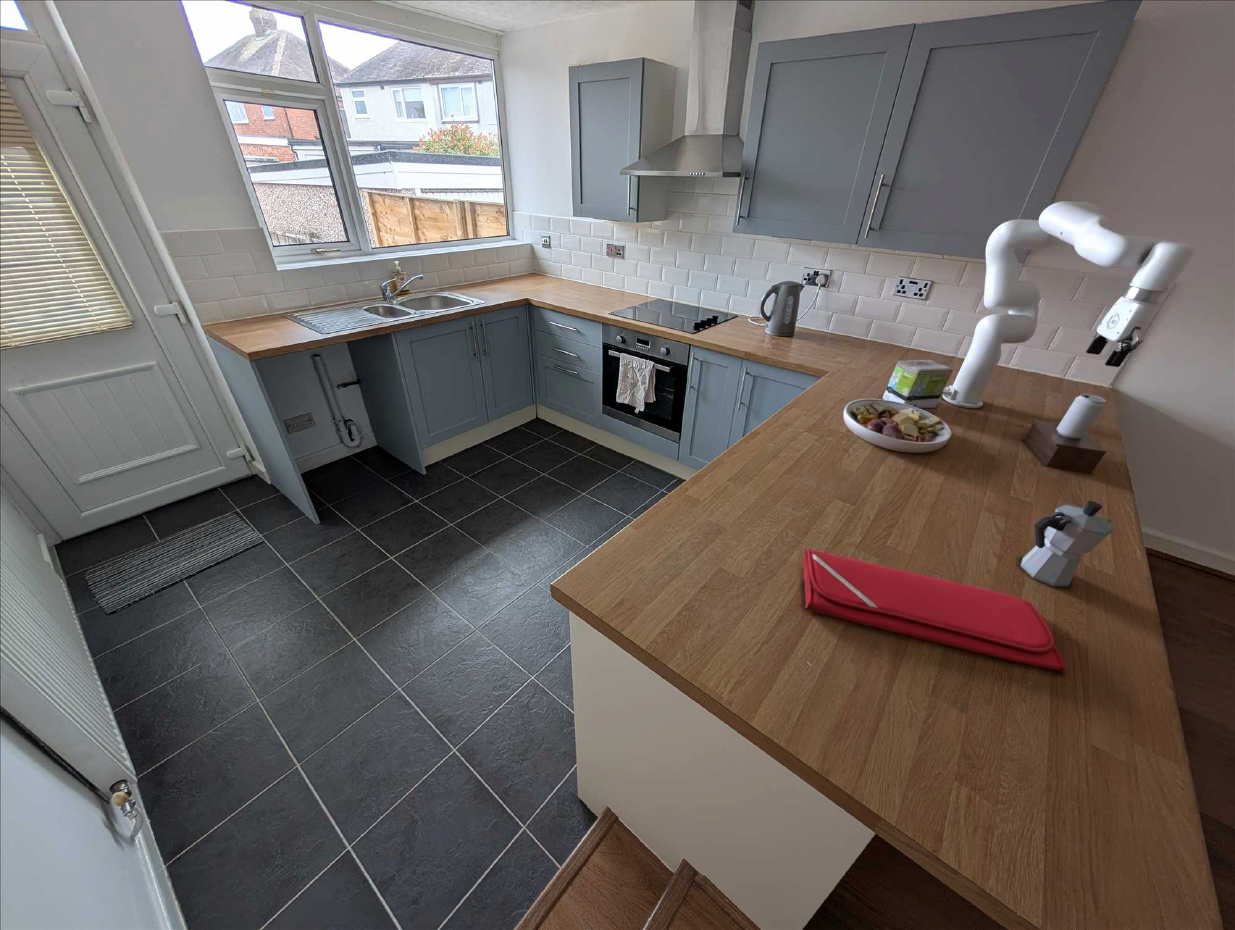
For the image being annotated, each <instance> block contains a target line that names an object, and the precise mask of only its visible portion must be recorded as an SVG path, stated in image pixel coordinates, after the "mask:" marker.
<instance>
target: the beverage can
mask: <svg viewBox="0 0 1235 930" xmlns="http://www.w3.org/2000/svg"><path fill="white" fill-rule="evenodd" d="M1106 402H1107V400H1106V399H1105V398H1103V397H1101V396H1099V395H1095V394H1090V393H1086V392H1085V393H1082V392H1081V393H1079V395H1078V396H1076V397H1075V398H1074V400H1073V402H1072V403H1071V405H1070V406H1069V408H1068V410H1067V411H1066V412H1065V415H1064V416H1063V417H1062V419H1061V421H1060V424H1059V426H1058V427H1057V431H1058V433H1059V434H1061V435H1063V436H1066V437H1069V438H1073V439H1079V438H1083V437H1084V436H1085V435H1086V434H1087V433H1088V432H1089V430H1090V428H1091V427H1092V426H1093V425H1094V423H1095V421H1096V420H1097V418H1098V417H1099V415H1100V414H1101V412H1102V411H1103V409H1104V408H1105V406H1106Z"/></svg>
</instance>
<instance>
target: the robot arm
mask: <svg viewBox="0 0 1235 930" xmlns="http://www.w3.org/2000/svg"><path fill="white" fill-rule="evenodd" d="M1109 224H1110V221H1109V218H1108V217H1107V216H1106V215H1104V214H1102V213H1100V210H1099V208H1098V206H1097V205H1096V204H1094V203H1092V202H1087V201H1073V200H1072V201H1070V200H1063V201H1057V202H1054V203H1052V204H1050V205H1048V206H1047V207H1046V208H1045V209H1043V210H1042V212H1041V213H1040V215H1039V216H1038V219H1026V218H1022V219H1021V218H1020V219H1011V220H1008V221H1005V222H1003V223H1001V224H1000V225H998V226H996V228H995V229H994V230H993V231H992V233H991V234H990V235H989V238H988V239H987V242H986V244H985V245H986V246H985V264H986V265H985V268H986V269H985V278H984V279H985V280H984V289H983V305H984V307H985V308H986V309H987V310H991V311H1008V313H994V314H990V315H986V316H984V317H983V318H981V319H980V320H979V321H978V323H977V324H976V327H975V329H974V334H973V338H972V341H971V344H970V347H969V348H968V351H967V353H966V355H965V358H964V361H963V362H962V364H961V367H960V370H959V371H958V373H957V375H956V377H955V380H954V381H953V383H952V384H949V385H948V386H945V388H944V390H943V392H942V394H941V395H942V399H943V400H945V401H946V402H947V403H949V404H952V405H954V406H957V407H962V408H964V409H965V408H967V409H979V408H982V407H983V405H984V402H983V401H982V399H981V398H982V396H983V394H984V392H985V390H986V388H987V386H988V384H989V382H990V380H991V378H992V376H993V374H994V372H995V370H996V368H997V366H998V364H999V362H1000V360H1001V357H1002V344H1022V343H1025V342H1027V341H1029V340H1031V338H1033V336H1034V335H1035V333H1036V330H1037V326H1038V318H1039V310H1040V301H1041V300H1040V297H1041V295H1040V294H1041V293H1040V289H1039V287H1038V285H1037V284H1036V283H1035V282H1032V281H1030V280H1020V279H1019V269H1020V266H1019V265H1020V264H1019V260H1018V257H1017V255H1016V254H1015V250H1033V251H1038V250H1039V251H1040V250H1044V249H1047V248H1050V247H1052V246H1055V245H1058V244H1060V243H1061V244H1062V243H1063V242H1065V243H1067V244H1069V245H1071V246H1073V248H1074V250H1075V252H1076V253H1077V255H1079V256H1080V257H1081V258H1083V259H1085V260H1087V261H1089V262H1091V263H1093V264H1095V265H1098V266H1100V267H1104V268H1108V269H1133V270H1137V272H1136V273H1135V275H1134V276H1133V278H1132V279H1131V281H1130V283H1129V284H1128V285H1127V288H1126V289H1125V291H1124V293H1123V294H1122V296H1120V298H1118V300H1117V301H1116V302H1115V303H1114V304H1113V305H1112V307H1111V308H1110V309H1109V310H1108V312H1107V313H1106V315H1105V316H1104V317H1103V319H1101V320H1100V321H1099V325H1098V326H1097V328H1096V333H1095V334H1094V336H1093V339H1092V341H1091V343H1090V344H1089V346H1088V348H1086V351H1085V353H1086V354H1089V355H1096V356H1097V355H1098V356H1099V355H1100V354H1101V353H1102V352H1103V350H1104V349H1105V347H1106V345H1107V344H1108V342H1109V341H1111V342H1112V343H1113V342H1114V343H1115V342H1116V348H1115V350H1112V352H1111V354H1110V355H1109V356H1108V358H1107V360H1106V361H1105V363H1104V365H1105V366H1107V367H1114V368H1120V367H1121V365H1122V364H1123V363H1124V361H1125V360H1126V358H1127V357H1128V355H1129V354H1131V353H1133V351H1134V350H1136V349H1137V348H1138V347H1139V346H1140V345H1141V344H1142V343H1143V342H1144V337H1143V334H1144V332H1145V331H1146V329H1147V328H1148V326H1149V325H1150V323H1151V322H1152V319H1153V318H1154V316H1155V313H1156V312H1157V309H1158V307H1159V306H1160V305H1161V304H1162V303H1163V301H1164V299H1165V298H1166V296H1167V295H1168V294H1169V292H1170V291H1171V289H1172V288H1173V286H1174V285H1175V284H1176V282H1177V280H1178V279H1179V277H1180V276H1181V274H1182V273H1183V272H1184V270H1185V269H1186V267H1187V266H1188V264H1189V263H1190V261H1191V260H1192V259H1193V257H1194V256H1195V254H1196V252H1197V247H1196V246H1195V245H1193V244H1190V243H1185V242H1178V241H1169V240H1166V239H1163V238H1160V237H1156V236H1144V235H1143V236H1141V235H1123V234H1121V233H1118V232H1114V231H1112V230H1111V229H1108V228H1109Z"/></svg>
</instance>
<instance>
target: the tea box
mask: <svg viewBox="0 0 1235 930" xmlns="http://www.w3.org/2000/svg"><path fill="white" fill-rule="evenodd" d="M953 371H954V369H953V368H951V367H949V366H947V365H945V364H942V363H940V362H938V361H936V360H933V359H912V360H911V359H909V360H898V361H897V362H896V365H895V367H894V369H893V372H892V374H891V377H890V379H889V380H888V384H887V385H886V389H885V391H884V393H883V396H882V400H889V401H895V402H899V403H904V404H907V405H911V406H914V407H917V408H919V409H929V408H931V409H932V408H936V407H937V404H938V403H939V401H940V398H941V396H942V395H943V394H942V392H943V390H944V388H946V387H947V384H948V382H949V379H950V378H951V376H952V373H953Z"/></svg>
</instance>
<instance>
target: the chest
mask: <svg viewBox="0 0 1235 930" xmlns="http://www.w3.org/2000/svg"><path fill="white" fill-rule="evenodd" d="M1022 441H1023V442H1024V443H1025V444H1026V445H1027V447H1028V448H1029V449H1030V450H1031V451H1032V452H1033V453H1034V455H1035V456H1036V457H1037V458H1038V459H1039V460H1040V461H1041V462H1042V463H1043V464H1044V465H1045V467H1049V468H1055V469H1060V470H1061V469H1062V470H1067V471H1073V472H1074V471H1075V472H1078V473H1079V472H1080V473H1085V474H1090V475H1091V474H1092V473H1093V472H1094V470H1095V469H1096V467H1098V465H1099V463H1100V462H1101V461H1102V459H1103V458H1104V456H1105V455H1106V454H1104V453H1097V452H1091V451H1084V450H1078V449H1071V448H1065V447H1059V446H1055V445H1054V444H1053V443H1052V442H1051V441H1050V440H1049V439H1048V438H1047V437H1046V436H1045V435H1044V434H1043V433H1042V432H1041V431H1040V430H1039V429H1038V428H1037V427H1036V426H1035V425H1034V424H1033V423H1032V424H1031V425H1030V427H1029V429H1028V431H1027V433H1026V434H1025V436H1024V437H1023V439H1022Z"/></svg>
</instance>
